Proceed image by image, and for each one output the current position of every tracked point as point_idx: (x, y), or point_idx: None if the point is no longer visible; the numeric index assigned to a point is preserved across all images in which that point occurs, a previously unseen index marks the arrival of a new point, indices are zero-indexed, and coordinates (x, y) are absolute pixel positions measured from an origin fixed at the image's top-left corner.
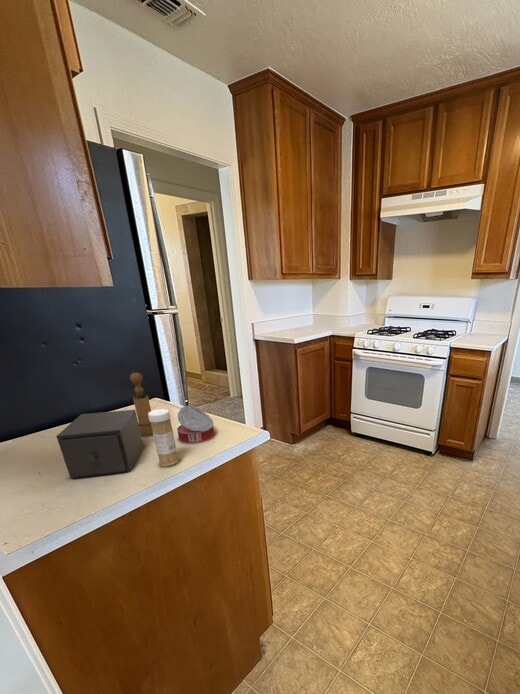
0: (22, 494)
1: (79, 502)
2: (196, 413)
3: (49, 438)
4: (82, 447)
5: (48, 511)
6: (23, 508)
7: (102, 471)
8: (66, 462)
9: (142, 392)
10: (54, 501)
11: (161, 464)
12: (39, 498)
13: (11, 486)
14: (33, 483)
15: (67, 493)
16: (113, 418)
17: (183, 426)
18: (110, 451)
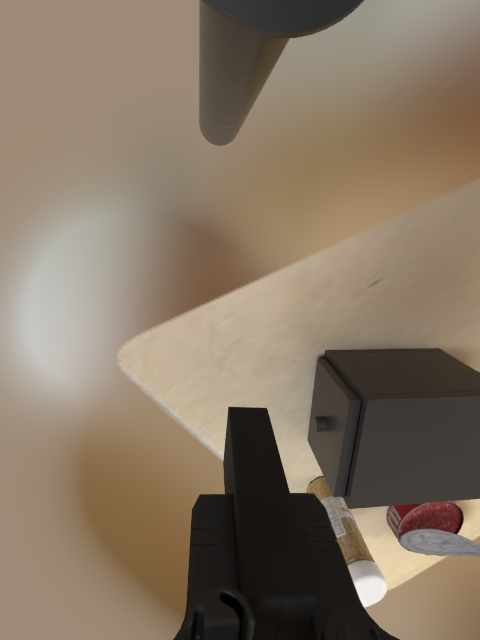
0: (291, 288)
1: (227, 395)
2: (463, 549)
3: None
4: (335, 426)
5: (211, 359)
6: (235, 314)
7: (312, 410)
8: (329, 375)
9: None
10: (243, 355)
11: (312, 483)
12: (263, 326)
13: (335, 251)
14: (332, 289)
15: (266, 365)
16: (435, 475)
17: (447, 506)
18: (323, 456)
